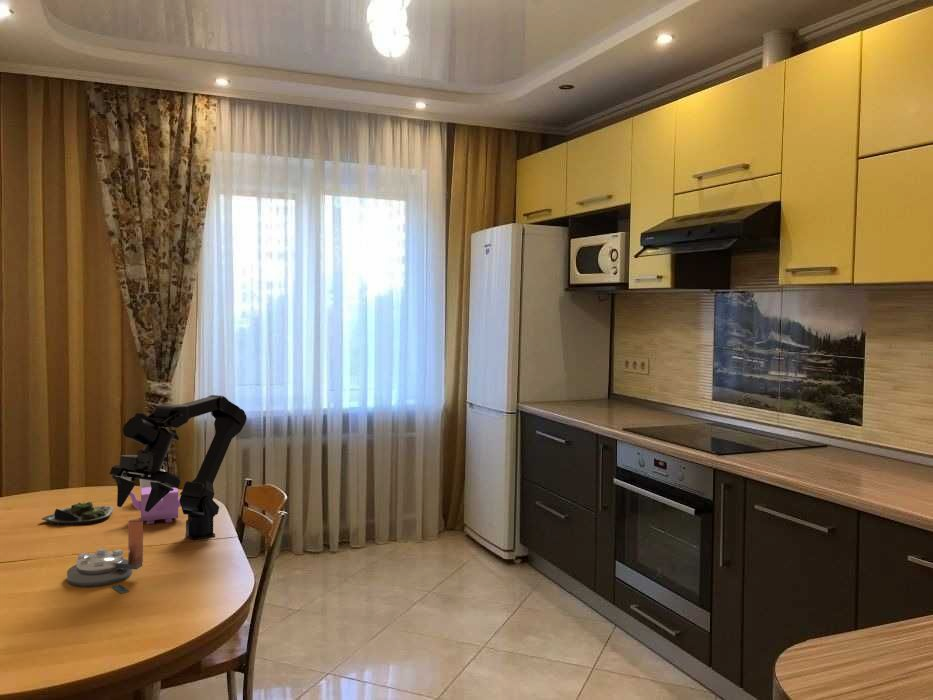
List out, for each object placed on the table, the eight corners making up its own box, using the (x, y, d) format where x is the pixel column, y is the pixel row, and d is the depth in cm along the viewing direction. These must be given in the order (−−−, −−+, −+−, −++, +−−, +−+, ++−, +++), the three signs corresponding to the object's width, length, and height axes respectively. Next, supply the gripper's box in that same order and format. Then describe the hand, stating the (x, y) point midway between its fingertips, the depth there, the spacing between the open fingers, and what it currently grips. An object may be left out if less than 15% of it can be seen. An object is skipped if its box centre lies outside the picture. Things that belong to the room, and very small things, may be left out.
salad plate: (59, 509, 226) (59, 495, 226) (120, 507, 230) (120, 493, 230) (37, 528, 207) (37, 512, 207) (103, 525, 211) (103, 510, 211)
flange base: (124, 561, 181) (124, 554, 181) (147, 587, 165) (147, 579, 165) (61, 573, 172) (61, 565, 172) (80, 602, 156) (79, 593, 156)
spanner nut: (66, 572, 167) (66, 523, 166) (93, 558, 177) (93, 512, 176) (129, 577, 165) (130, 527, 165) (153, 562, 175) (153, 515, 175)
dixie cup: (146, 497, 242) (146, 468, 241) (169, 498, 241) (170, 469, 241) (132, 503, 234) (132, 473, 233) (156, 504, 233) (156, 474, 232)
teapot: (155, 529, 207) (155, 493, 207) (122, 523, 213) (122, 487, 212) (194, 516, 221) (195, 482, 221) (163, 510, 227) (163, 477, 226)
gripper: (106, 437, 183) (81, 496, 177) (162, 443, 176) (138, 505, 170) (136, 450, 192) (113, 507, 186) (190, 457, 185) (169, 516, 179)
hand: (132, 509), depth 180 cm, fingers open, 9 cm apart
